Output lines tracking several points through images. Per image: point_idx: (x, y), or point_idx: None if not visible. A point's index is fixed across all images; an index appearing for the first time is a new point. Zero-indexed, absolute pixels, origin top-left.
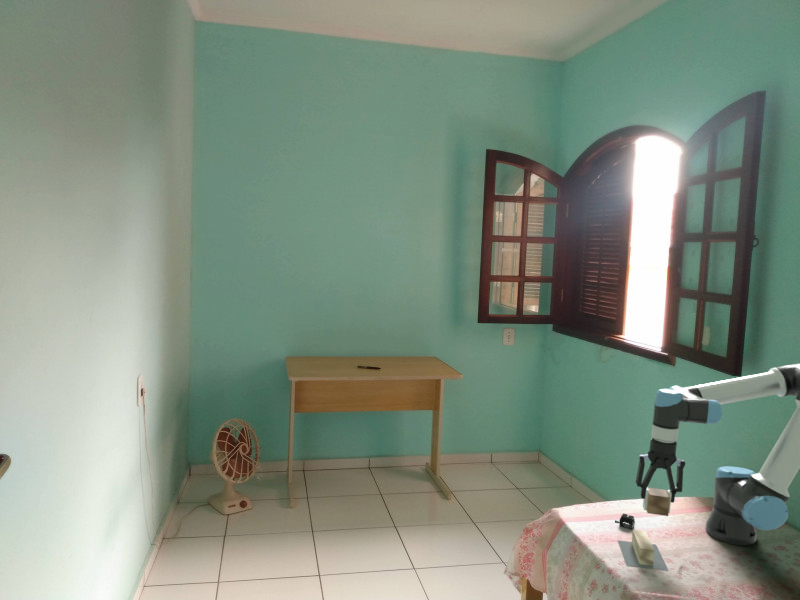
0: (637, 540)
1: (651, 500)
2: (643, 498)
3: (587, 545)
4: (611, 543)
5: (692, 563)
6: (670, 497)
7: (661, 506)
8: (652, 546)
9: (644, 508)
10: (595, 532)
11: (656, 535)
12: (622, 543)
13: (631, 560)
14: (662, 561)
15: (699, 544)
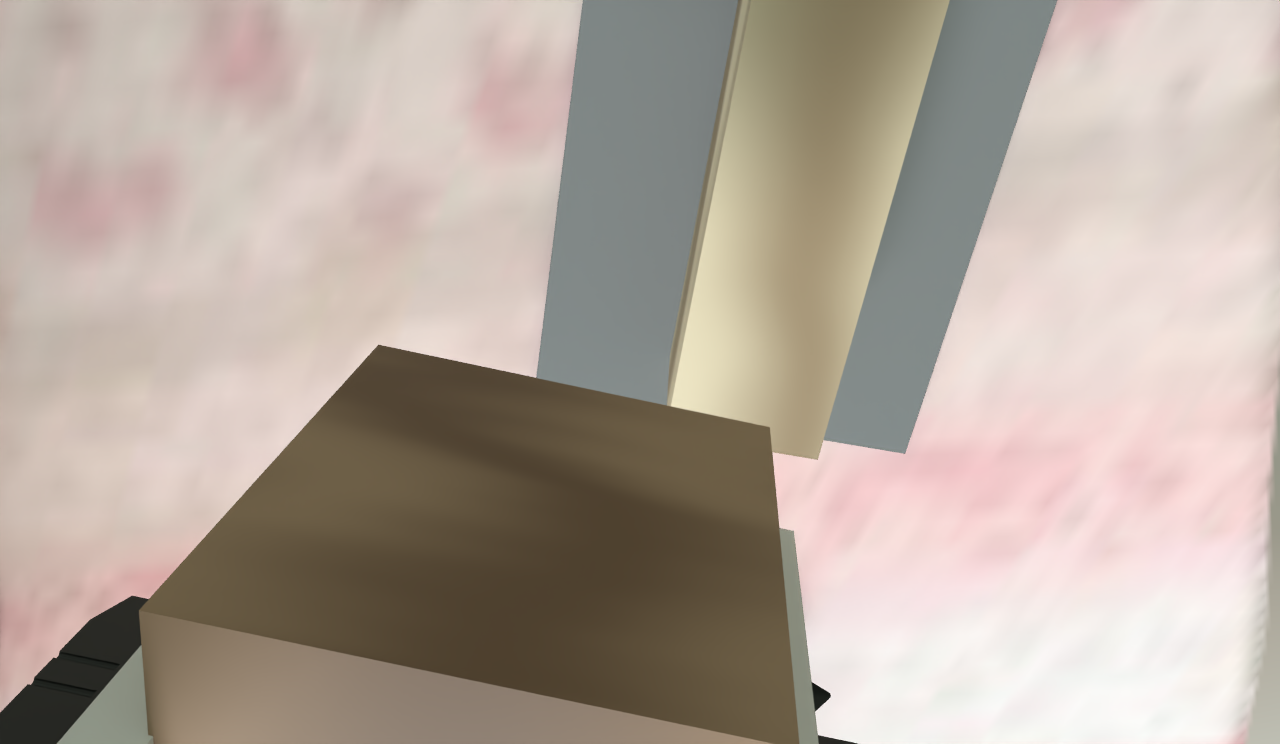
0: (886, 195)
1: (722, 606)
2: (837, 742)
3: (1273, 361)
4: (984, 409)
5: (266, 46)
6: (135, 681)
7: (476, 472)
8: (748, 30)
9: (795, 549)
10: (1038, 594)
11: None
12: (882, 396)
13: (962, 38)
14: (599, 37)
15: (103, 426)
